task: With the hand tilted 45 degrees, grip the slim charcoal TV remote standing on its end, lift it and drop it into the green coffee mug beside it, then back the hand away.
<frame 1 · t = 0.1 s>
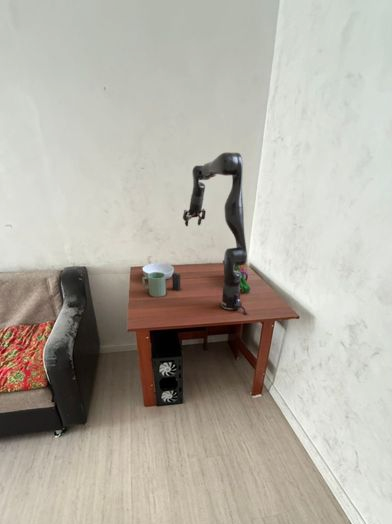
hand: (192, 225, 191), 31 cm above the table, tool tilted 20°, fingers open, 8 cm apart
remote: (176, 289, 185), on the table
serving bowl: (158, 278, 198), on the table
green coffee mug: (157, 293, 179), on the table
bouquet: (238, 284, 193), on the table
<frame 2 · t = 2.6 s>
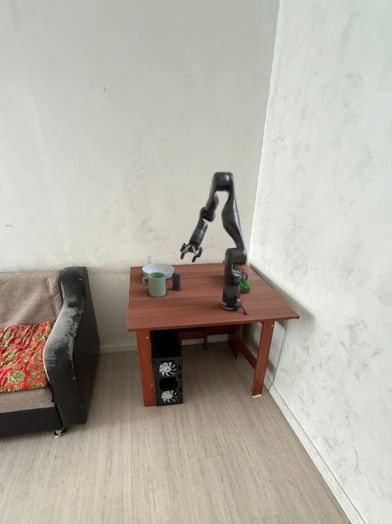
hand: (186, 260, 184), 15 cm above the table, tool tilted 45°, fingers open, 8 cm apart
nothing on the table moved.
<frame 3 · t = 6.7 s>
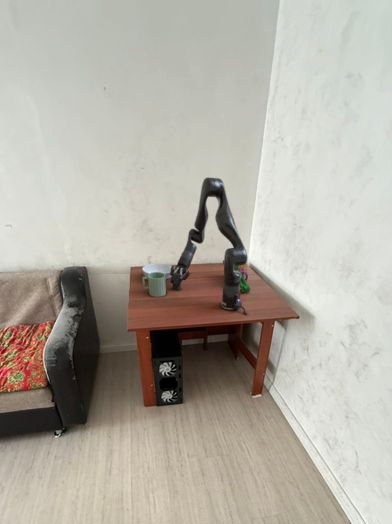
hand: (174, 284, 181), 4 cm above the table, tool tilted 45°, fingers closed on remote, 4 cm apart
remote: (176, 289, 185), on the table, touching gripper
everything else where it was.
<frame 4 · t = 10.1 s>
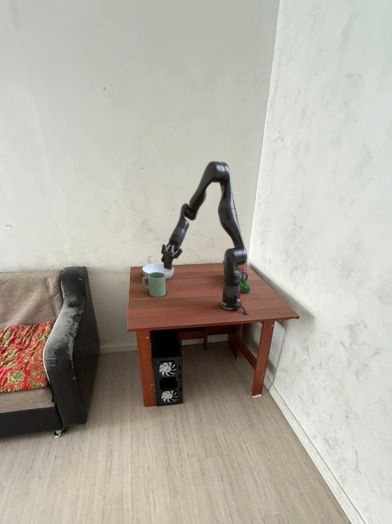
hand: (165, 262, 170), 18 cm above the table, tool tilted 45°, fingers closed on remote, 4 cm apart
remote: (168, 268, 174), point 14 cm above the table, touching gripper
everything else where it was.
when the fingers open (14 cm above the table, at t = 13.4 s): remote drops 9 cm, resting on green coffee mug.
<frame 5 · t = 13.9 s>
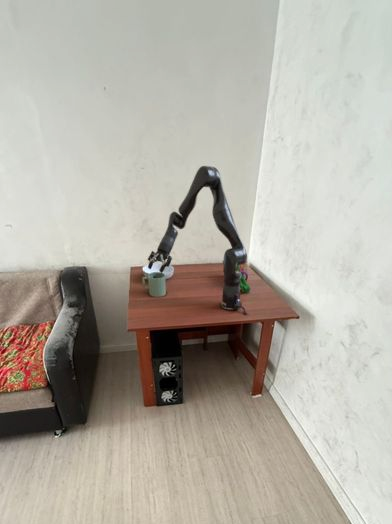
hand: (154, 270, 169), 15 cm above the table, tool tilted 45°, fingers open, 8 cm apart
remote: (157, 291, 179), point 1 cm above the table, tilted 6°, touching green coffee mug
everything else where it was.
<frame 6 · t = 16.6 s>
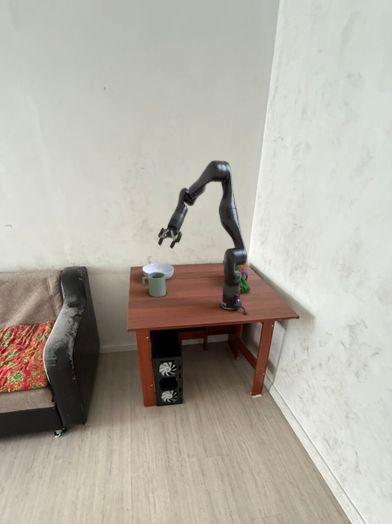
hand: (165, 246, 170), 26 cm above the table, tool tilted 45°, fingers open, 8 cm apart
remote: (157, 292, 179), point 1 cm above the table, touching green coffee mug
everything else where it was.
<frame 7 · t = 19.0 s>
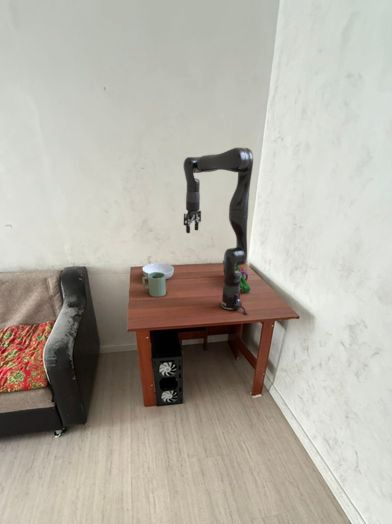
hand: (192, 231, 169), 34 cm above the table, tool pointing down, fingers open, 8 cm apart
nothing on the table moved.
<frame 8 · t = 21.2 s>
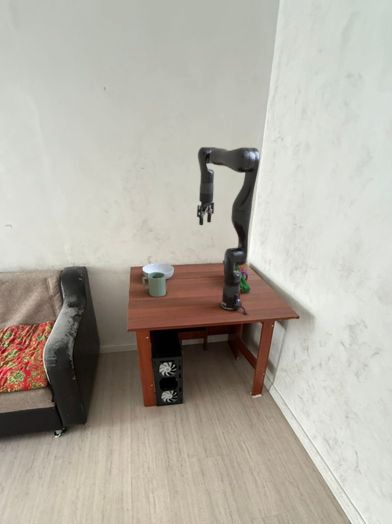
hand: (205, 223, 167), 38 cm above the table, tool pointing down, fingers open, 8 cm apart
nothing on the table moved.
at the end: remote 0.2 cm from the green coffee mug (horizontally); remote point 0.6 cm above the table; the gripper is holding nothing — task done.
